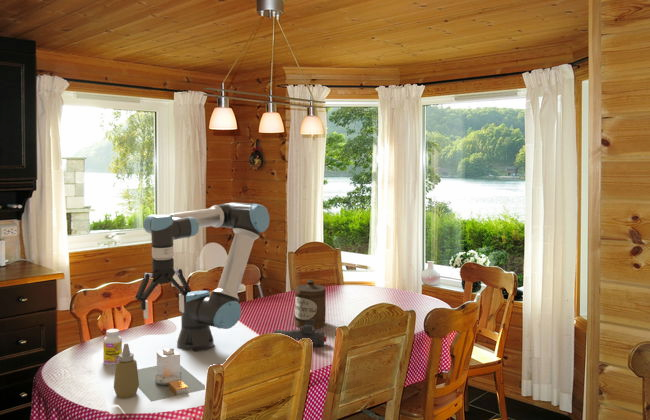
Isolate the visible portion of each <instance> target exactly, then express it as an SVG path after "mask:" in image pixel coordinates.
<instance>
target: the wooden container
mask: <svg viewBox="0 0 650 420" xmlns="http://www.w3.org/2000/svg"><path fill="white" fill-rule="evenodd" d="M306 283H307V284H299V285H297V286H296V287H295V288H294V291H295V292H294V294H295V298H294V299H295V300H294V302H295V303H294V325H295V326H296V327H298V328H300V326H303V327H304V325H306V319H310V320H314V330H315V329H320V328H323V327H324V326H326V311H327V309H326V308H327V307H326V287H325V286H323V285H320V284H315V281H314V280H313V279H308V280H307V281H306Z"/></svg>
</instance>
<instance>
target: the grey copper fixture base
mask: <svg viewBox="0 0 650 420" xmlns="http://www.w3.org/2000/svg"><path fill="white" fill-rule="evenodd" d="M155 384H156V385H158V386H163V387H168V388H169V389H170V390H171V391H172V392H173V393H174V394H175V395H176V396H175V397H177V396H182V394H183V395H186V394H189V393H188V386H187V385H185V384H184V383H183V382H182V381H181V372H180V376H177V377H172V378H167V379H162V378H161V377H160V376H159V375H158V374H156V375H155Z"/></svg>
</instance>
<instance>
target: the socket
mask: <svg viewBox="0 0 650 420" xmlns="http://www.w3.org/2000/svg"><path fill="white" fill-rule="evenodd" d="M180 365H181V353H180V352H178V351H177V350H176V349H175V348H172V347H169V348H168V347H167V348H164V349H162V350H160V351H159V350H158V351H156V366H157V374H158V375H159V376H160V377H161V378H162V379H167V378H172V377H177V376H180Z"/></svg>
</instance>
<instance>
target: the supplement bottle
mask: <svg viewBox="0 0 650 420" xmlns="http://www.w3.org/2000/svg"><path fill="white" fill-rule="evenodd" d="M105 334H106V336H105V337H104V338H103V364H104V365H108V366H109V365H116V362H117V361H119V355H120V354H122V352H123V343H122V342H123V341H122V339H123V337H121V335H120V330H119V329H118V328H110V329H106V332H105Z"/></svg>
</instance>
